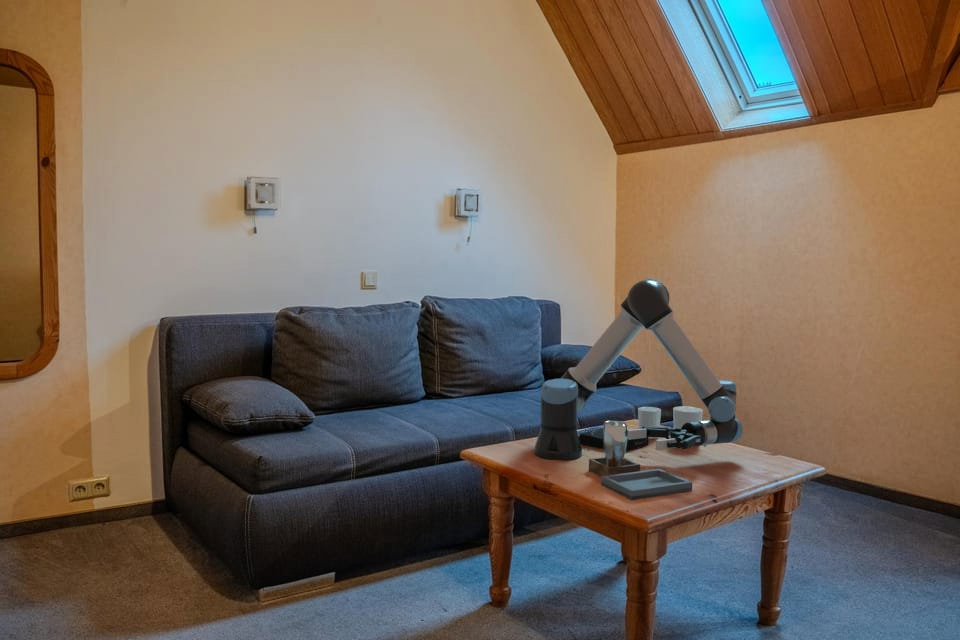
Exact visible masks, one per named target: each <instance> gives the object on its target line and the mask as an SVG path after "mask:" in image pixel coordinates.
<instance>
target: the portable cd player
mask: <svg viewBox="0 0 960 640" xmlns="http://www.w3.org/2000/svg"><path fill="white" fill-rule="evenodd" d="M603 430H604V427H600V428H597V429H596V428H595V429H593V430H588V431H584V432H581V433H579V434H578V436H579V440H580V443H581V446H582V445H583V446H587V447H591V448H596V449H600V450H603V451H604V446H603ZM648 445H649V439H648V437H646V438H645V439H644V438H639V439H631V440H629V439H628V429H627V446H626V451H625V453H626V452H629V451H633V450H636V449H639V448H642V447H647V446H648Z"/></svg>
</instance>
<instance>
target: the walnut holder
mask: <svg viewBox="0 0 960 640" xmlns="http://www.w3.org/2000/svg"><path fill="white" fill-rule="evenodd" d="M588 471H589V472H591V473H592V474H595V475H597V476H599V477H601V476H608V475H615V474H623V473H630V472H638V471H641V464H640V463H638V462H635V461H633V460H630V459H628V458H626V457H624V466H618V467H608V466H606V465H605V456H604V457H594V458H589V459H588Z"/></svg>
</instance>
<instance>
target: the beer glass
mask: <svg viewBox="0 0 960 640" xmlns="http://www.w3.org/2000/svg"><path fill="white" fill-rule="evenodd" d="M603 428H604V430H603V446H604V450H603V451H604V457H605V465H606V466H608V467H618V466H624V458H625V456H626V452H627V451H626V446H627V430H628V423H627V422H625V421H621V420H607V421H604V423H603ZM625 451H626V452H625Z"/></svg>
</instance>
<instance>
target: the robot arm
mask: <svg viewBox="0 0 960 640" xmlns="http://www.w3.org/2000/svg"><path fill="white" fill-rule="evenodd" d="M669 304H670V292H669V289H668V288H667V287H666V286H665V285H664V283H662V282H661V281H659V280H658V279H652V278H648V279H644V280H640V281H638V282H636V283H635V284H634V285H632V286H631V288H630V289H629V291H628V294H627V296H626V297H625V299H624V300H623V301H622V302H621V304H620V305H619V306H620V313H619V314H618V315H617V316H616V317H615V319H613V320H612V322H611V324H609V325H608V327H607V328H606V329H605V330H604V332H603V333H602V334H601V336H600V337H599V338H598V339H597V340H596V342H595V343H594V344H593V346H592V347H591V348H590V349H589V350H588V352H587V353H586V354H585V355H584V357H582V359H581V360H580V362H579V363H578V364H577V365H576V366H574V367H572V366H571V367H568V369H567V370H566V372H564V374H563V375H562V376H561V377H560V378H553V379H548V380H546V381H544V382H543V383H542V385H541V390H540V430H539V432H538V435H537V438H536V442H535V445H534V454H535V455H536V456H537V457H539V458H543V459H548V460H559V461H561V460H562V461H568V460H569V461H570V460H574V459H578V458H581V457H582V456H583V448H582V447H583V446H582V444H581V443H580V440H579V433H578V412H579V411H580V410H582V409H583V408H584V407H585V406H586V405H587V404H588V401H589V400H590V399H591V397H592V396H593V395H594V394H595V392H596V391H597V383H598V382H599V380H601V378H602V377H603V376H604V375H605V373H606V372H607V371H608V370H609V369H610V368H611V366H612V365H613V364H614V362H615V361H616V360H617V358H619V357H620V356H621V354H622V353H623V352H624V350H626V348H627V347H628V346H629V345H630V344H631V342H632V341H633V340H634V339H635V337H636V336H637V335H638V334H639V332H640V331H641V330H642V329H645V330H646V331H649V332H652V334H653V335H654V337H656V339H657V340H658V342H659V343H660V345H661V346H662V347H663V348H664V350H665V352H666V353H667V354H668V355H669V357H670V358H671V360H672V361H673V362H674V364H675V365H676V366H677V368H678V369H679V371H680V372H681V373H682V375H683V376H684V377H685V379H686V380H687V382H688V383H689V385H691V388H692V389H693V390H694V391H695V393H696V394H697V396H698V397H699V399H701V402H702V403H703V404H704V405H705V407H706V408H707V411H708V414H709V415H710V417H709V418H710V419H709V420H708V419H705V420H702V421H697V422H687V423H685V424H684V425H683V426H682V428H674V426H672V425H671V426H660V427H644V426H643V427H642V429H639V428H636V429H629V430H628V429H627V430H628V439H629V440H631V439H639V438H644V439H645V438H646V437H658V438H659V439H655V450H656V451H663V450H671V449H682V450H684V451H685V450H688V449H690V448H693V447H700V446H703V447H704V448H705V447H707V446H708V445H717V444H729V443H733V442H737V441H739V440H740V439H741V438H742V436H743V434H744V428H743V427H742V423H741V421H740V420H739V419H738V418H736V411H737V406H736V405H737V393H738V391H737V384H736V383H735V382H734V381H729V380H719V379H718V378H717V376H716V374H715V373H714V372H713V370H712V369H711V368H710V367H709V365H708V363H707V362H706V361H705V360H704V358H703V357H702V355H701V354H700V353H699V351H698V350H697V348H696V347H695V345H694V344H693V343H692V342H691V340H690V339H689V337H688V336H687V335H686V333H685V332H684V331H683V329H682V328H681V326H680V325H679V323H678V322H677V320H675V318H674V311H673V309H672V308H671V306H670V305H669ZM662 438H663V439H662Z"/></svg>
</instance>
